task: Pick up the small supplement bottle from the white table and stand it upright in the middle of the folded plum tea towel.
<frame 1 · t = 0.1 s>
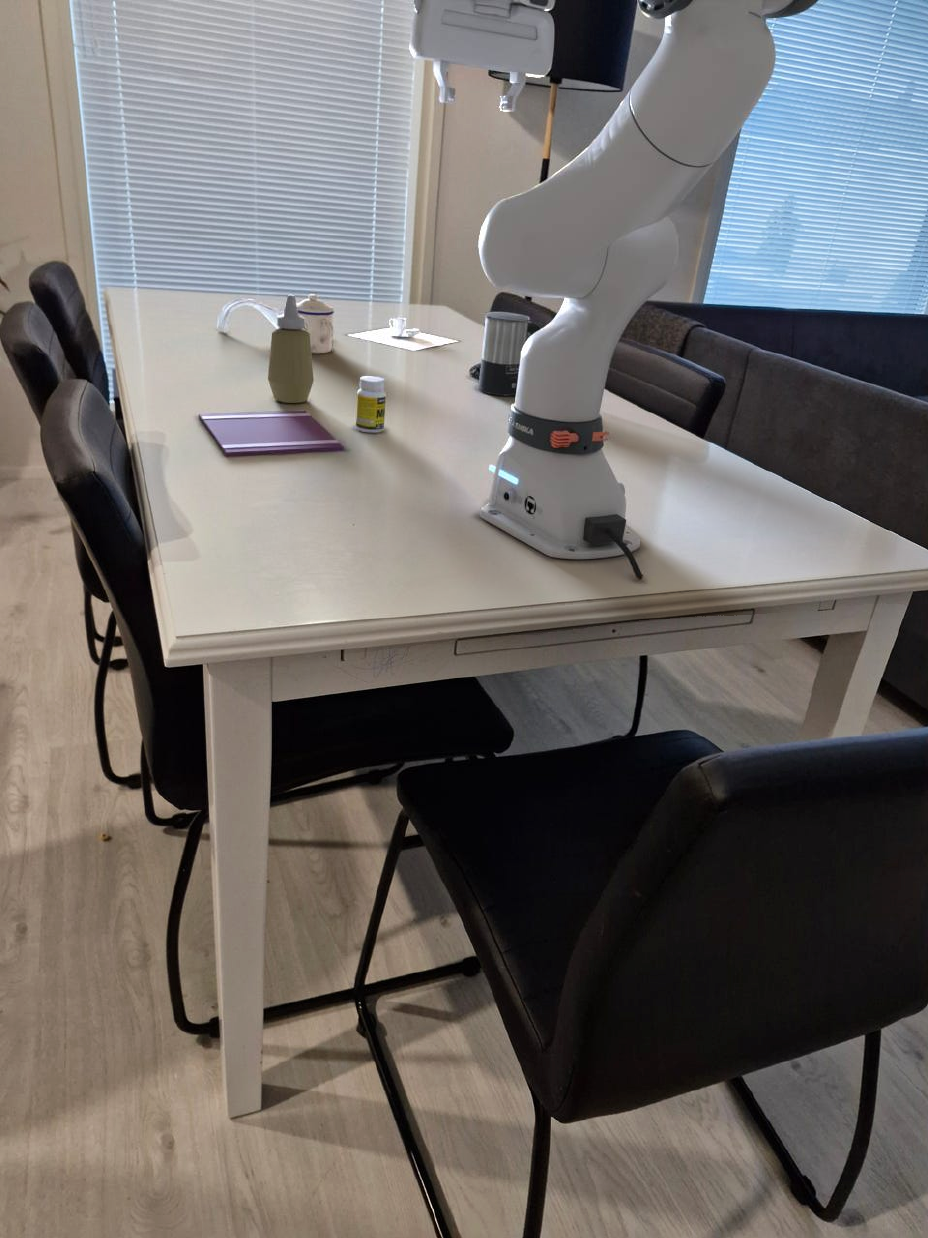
hand: (477, 106, 121), 48 cm above the table, tool pointing down, fingers open, 8 cm apart
teacup and saucer: (403, 338, 217), on the table
teacup with lid: (315, 351, 195), on the table
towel: (269, 433, 139), on the table
milk frother: (492, 386, 182), on the table
supplement bottle: (369, 430, 146), on the table
squeeze bottle: (290, 400, 157), on the table
clear curved arch: (268, 331, 209), on the table
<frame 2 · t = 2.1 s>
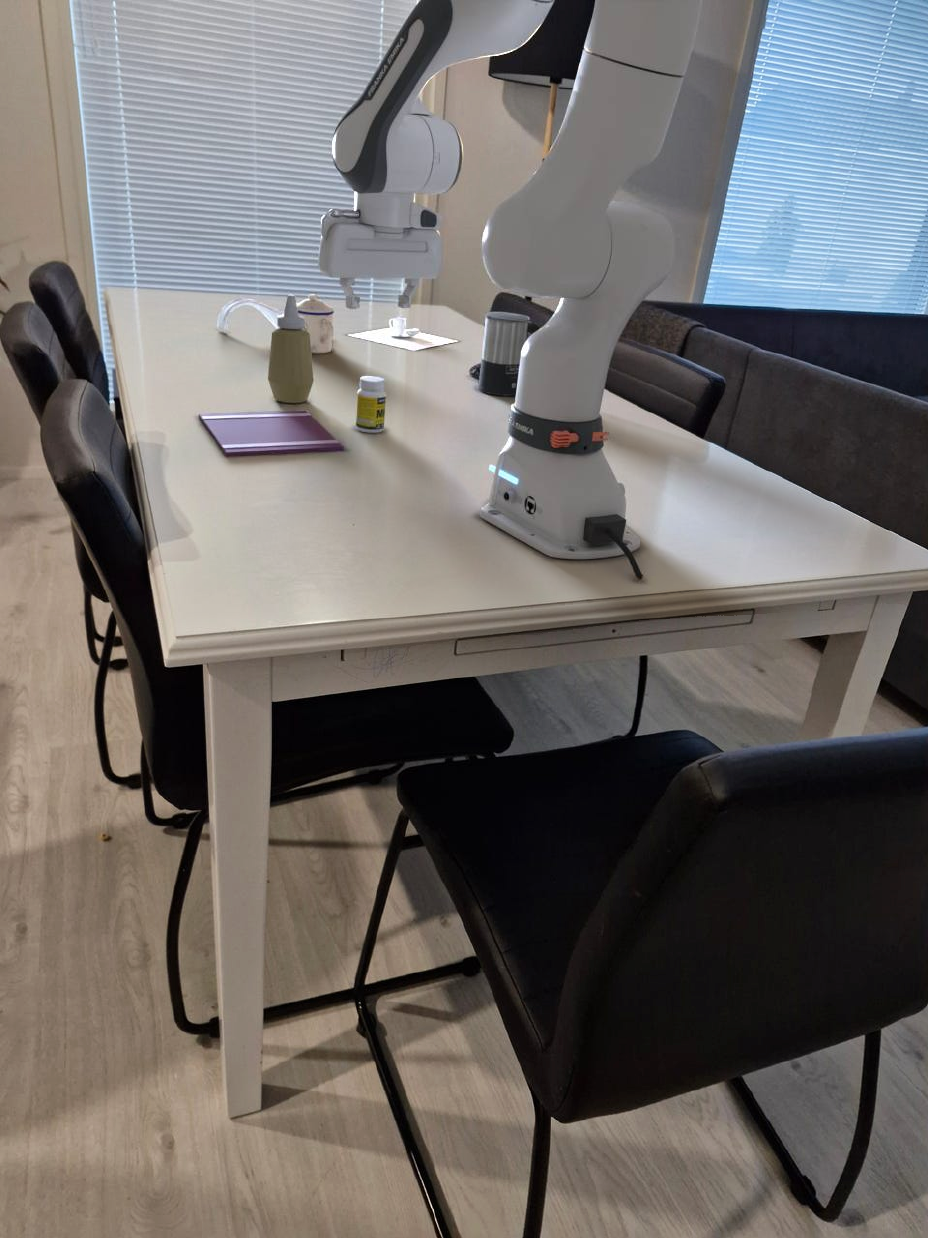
hand: (378, 307, 137), 20 cm above the table, tool pointing down, fingers open, 8 cm apart
nothing on the table moved.
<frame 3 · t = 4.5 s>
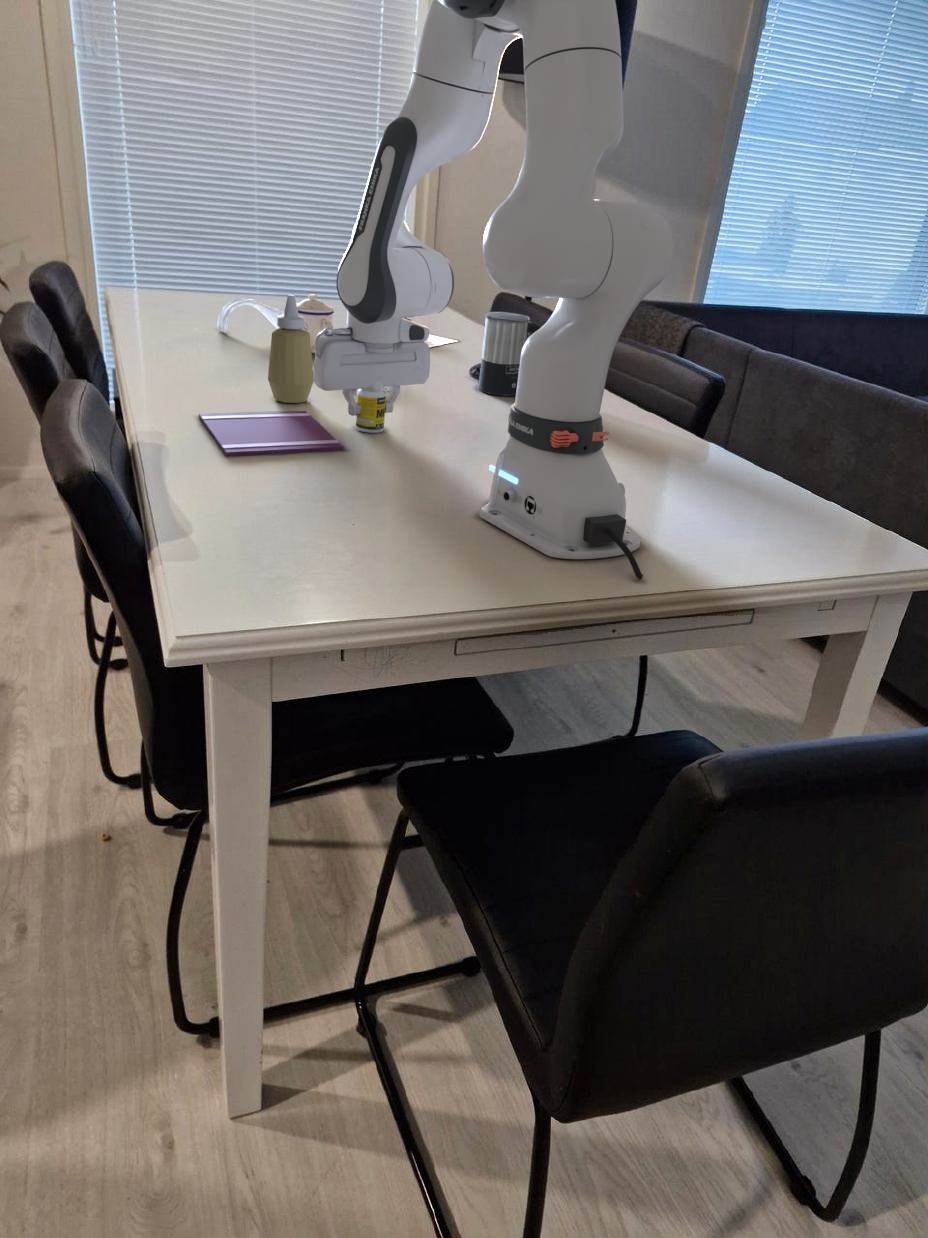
hand: (370, 413, 145), 3 cm above the table, tool pointing down, fingers closed on supplement bottle, 5 cm apart
supplement bottle: (369, 430, 146), on the table, touching gripper
everything else where it was.
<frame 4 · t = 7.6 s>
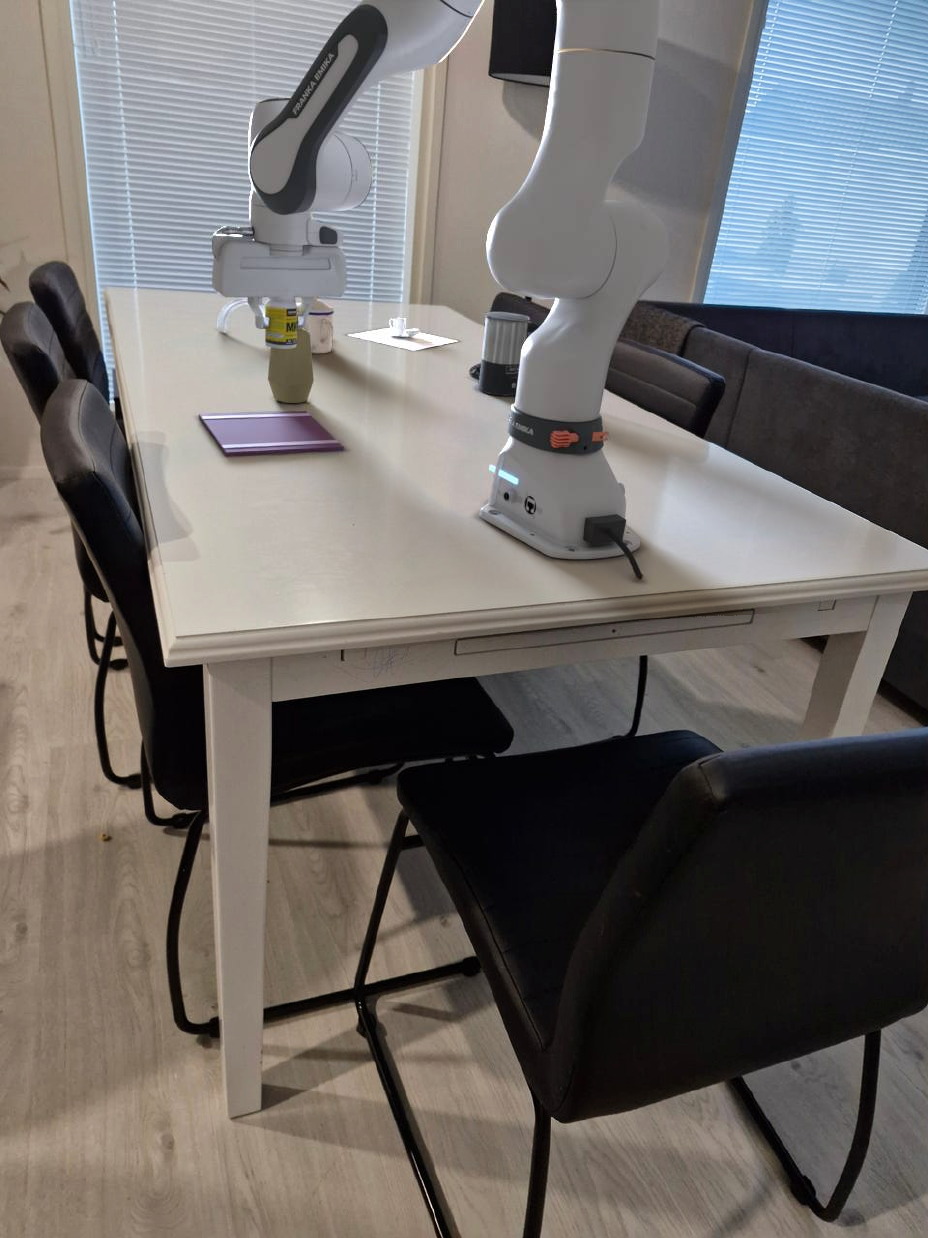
hand: (281, 327, 132), 16 cm above the table, tool pointing down, fingers closed on supplement bottle, 5 cm apart
supplement bottle: (281, 347, 133), point 13 cm above the table, touching gripper
everything else where it was.
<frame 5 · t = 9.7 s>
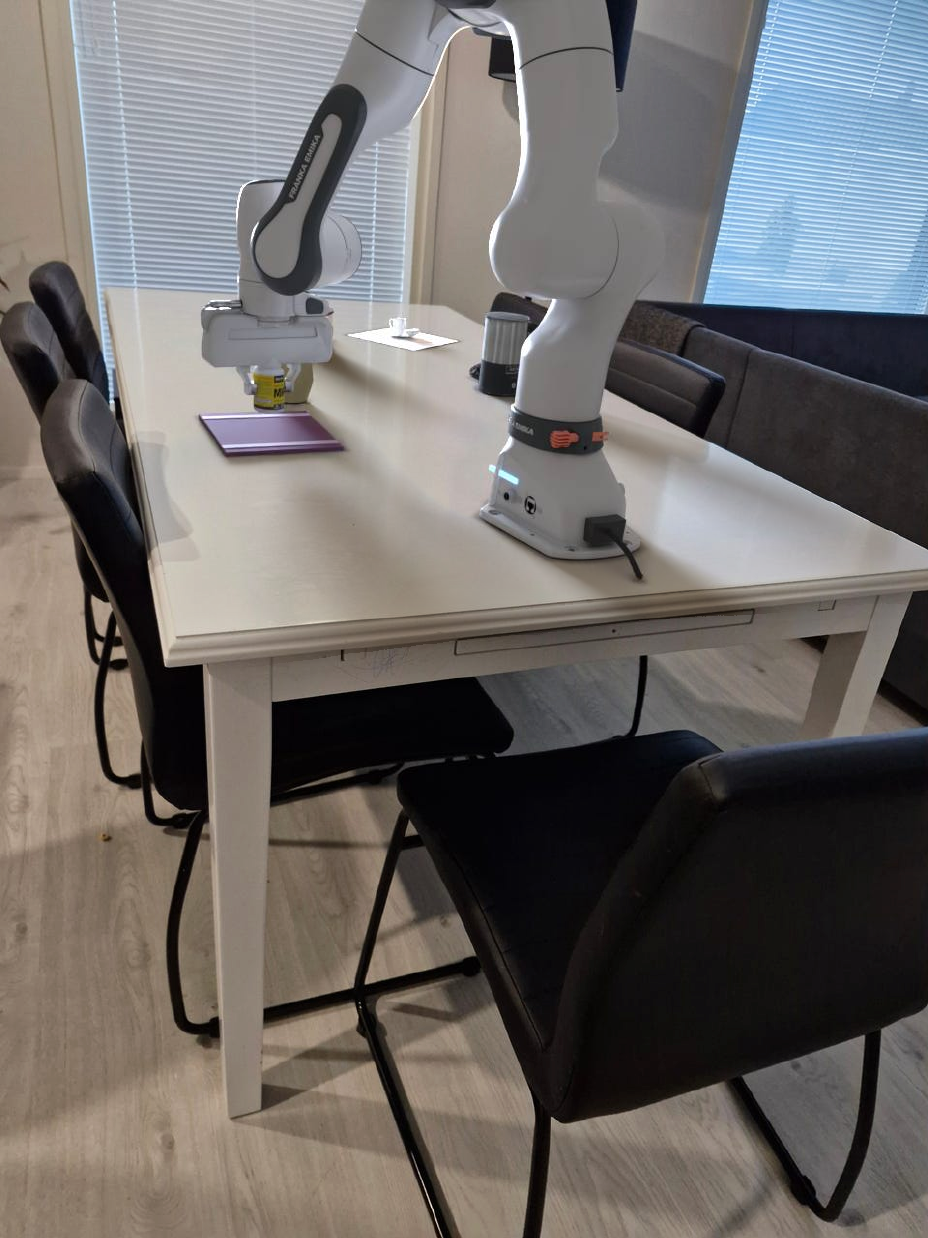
hand: (269, 392, 136), 6 cm above the table, tool pointing down, fingers closed on supplement bottle, 5 cm apart
supplement bottle: (269, 411, 137), point 4 cm above the table, touching gripper
everything else where it was.
when the fingers open (3 cm above the table, at t = 11.0 s): supplement bottle stays where it is, resting on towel.
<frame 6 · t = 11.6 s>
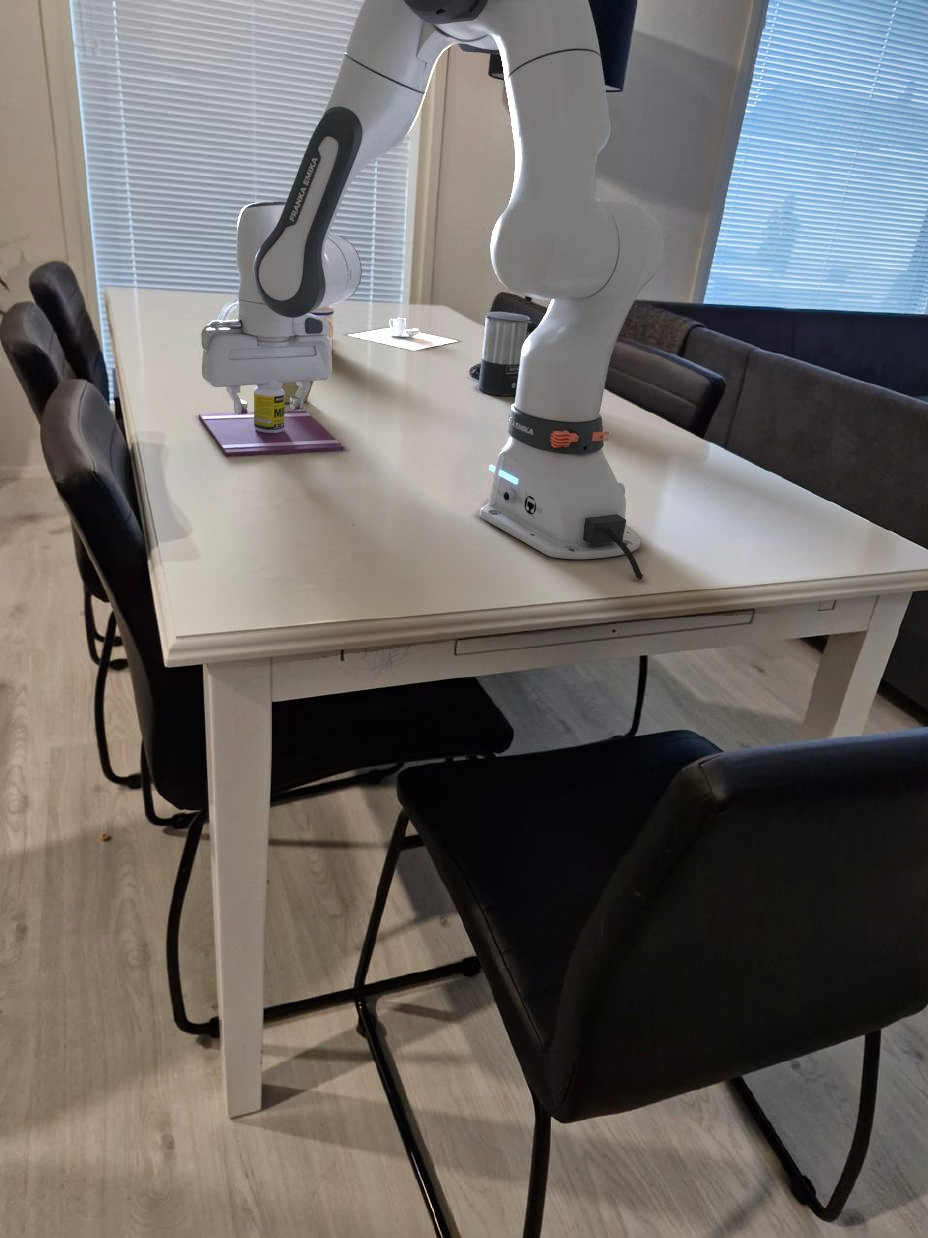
hand: (269, 411, 137), 4 cm above the table, tool pointing down, fingers open, 8 cm apart
supplement bottle: (269, 430, 139), resting on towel
everything else where it was.
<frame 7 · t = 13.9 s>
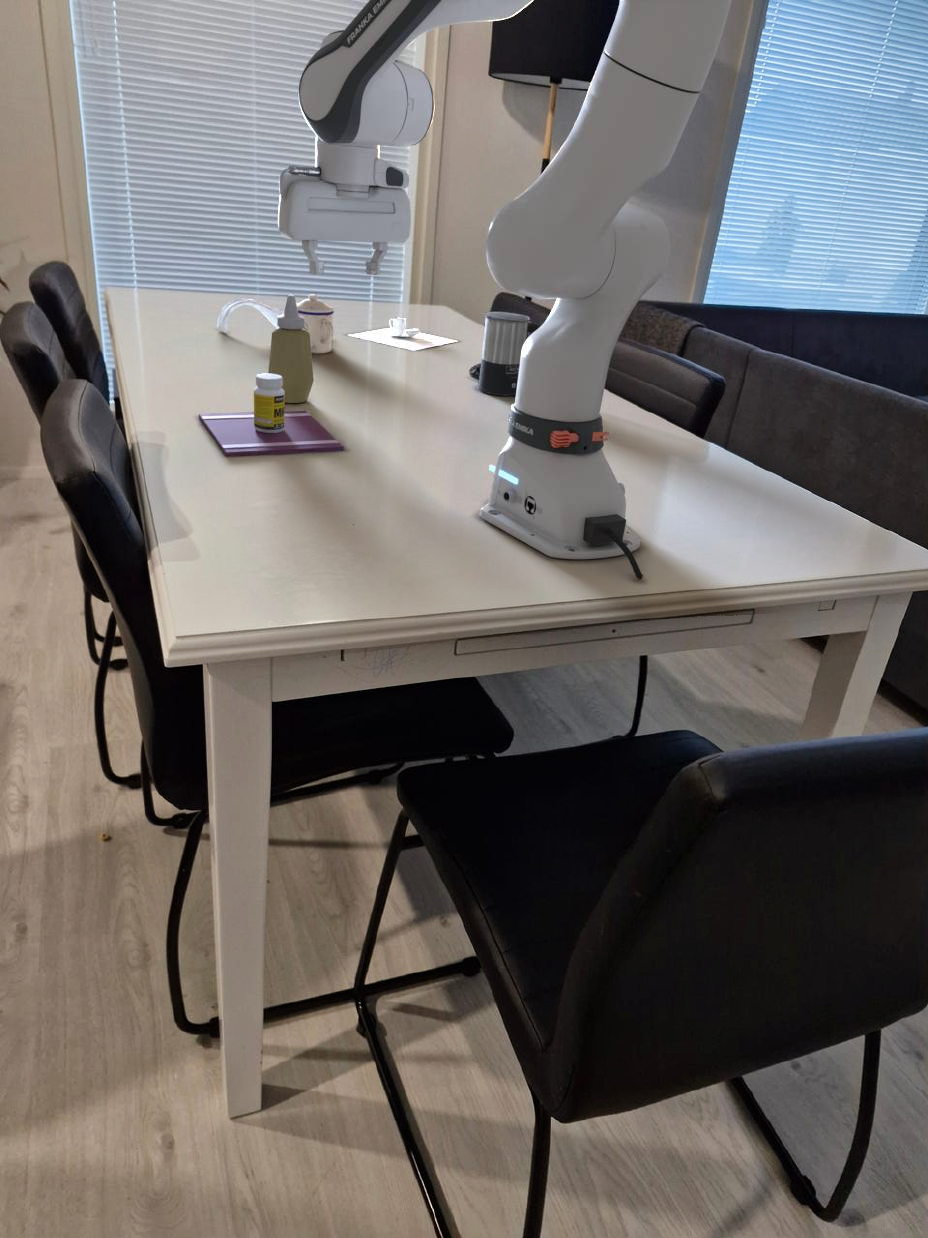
hand: (345, 274, 129), 25 cm above the table, tool pointing down, fingers open, 8 cm apart
nothing on the table moved.
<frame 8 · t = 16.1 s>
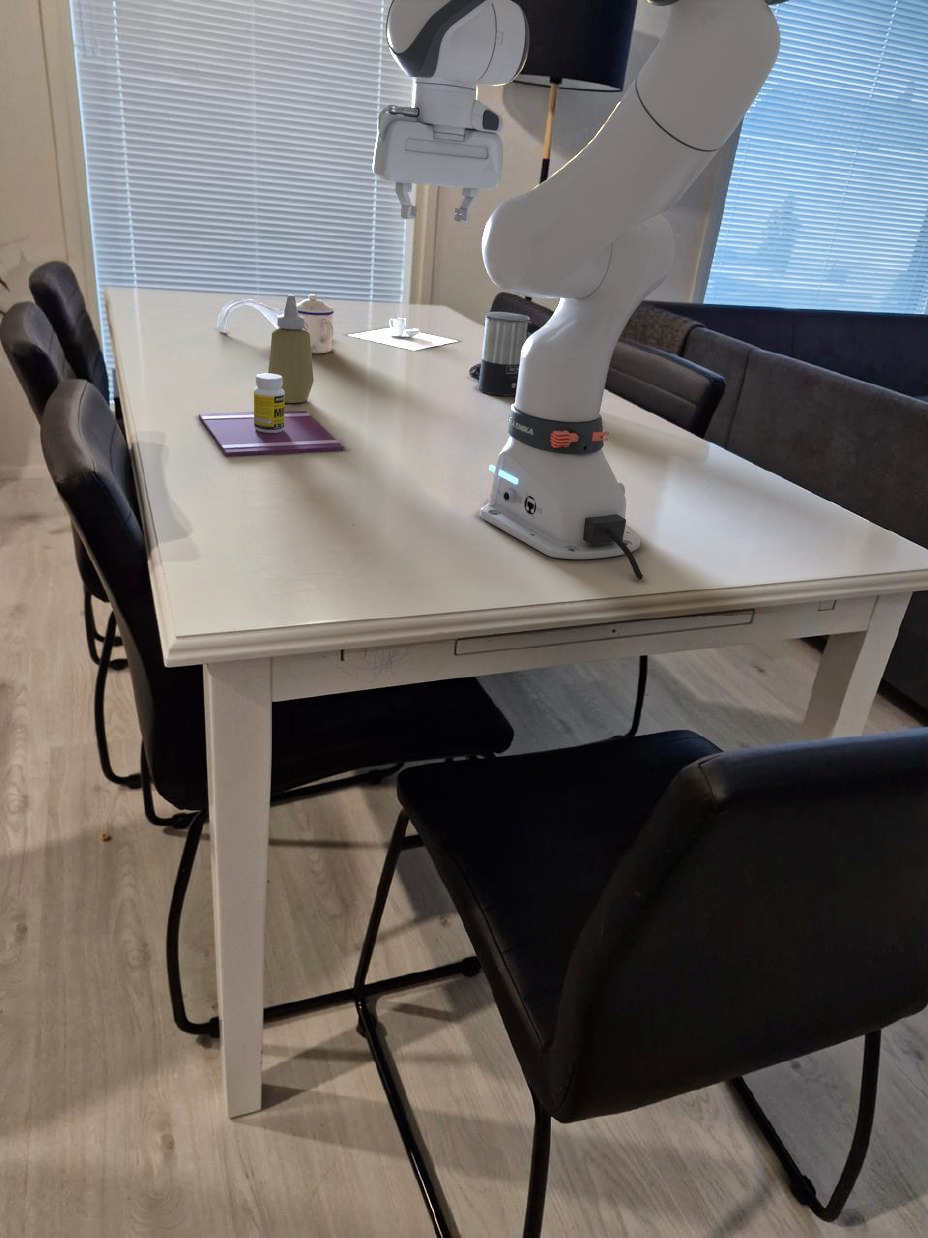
hand: (435, 220, 128), 33 cm above the table, tool pointing down, fingers open, 8 cm apart
nothing on the table moved.
at the end: supplement bottle inside the target area on the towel (0.1 cm from its centre), point 0.4 cm above the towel's base; supplement bottle tilted 0°; supplement bottle touching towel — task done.
